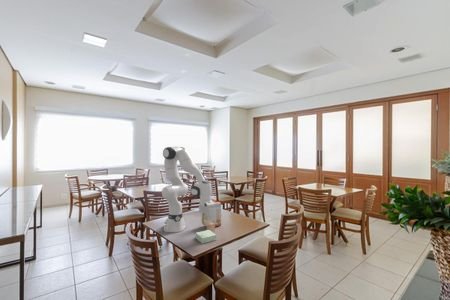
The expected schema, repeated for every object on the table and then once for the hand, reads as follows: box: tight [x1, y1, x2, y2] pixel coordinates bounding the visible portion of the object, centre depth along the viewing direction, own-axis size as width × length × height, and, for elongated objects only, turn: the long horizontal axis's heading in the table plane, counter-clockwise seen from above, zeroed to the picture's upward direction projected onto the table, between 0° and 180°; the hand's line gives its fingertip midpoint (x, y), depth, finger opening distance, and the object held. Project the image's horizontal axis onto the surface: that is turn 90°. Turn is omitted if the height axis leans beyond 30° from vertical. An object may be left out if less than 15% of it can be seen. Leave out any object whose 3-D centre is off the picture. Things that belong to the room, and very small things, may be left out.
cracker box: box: [204, 201, 222, 228], centre depth 196 cm, size 14×6×21 cm, turn 110°
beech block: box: [201, 213, 211, 226], centre depth 168 cm, size 5×5×8 cm
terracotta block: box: [206, 222, 216, 233], centre depth 182 cm, size 5×5×7 cm
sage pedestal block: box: [195, 229, 217, 244], centre depth 168 cm, size 12×12×4 cm
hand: (206, 219), depth 168 cm, fingers closed on beech block, 5 cm apart
